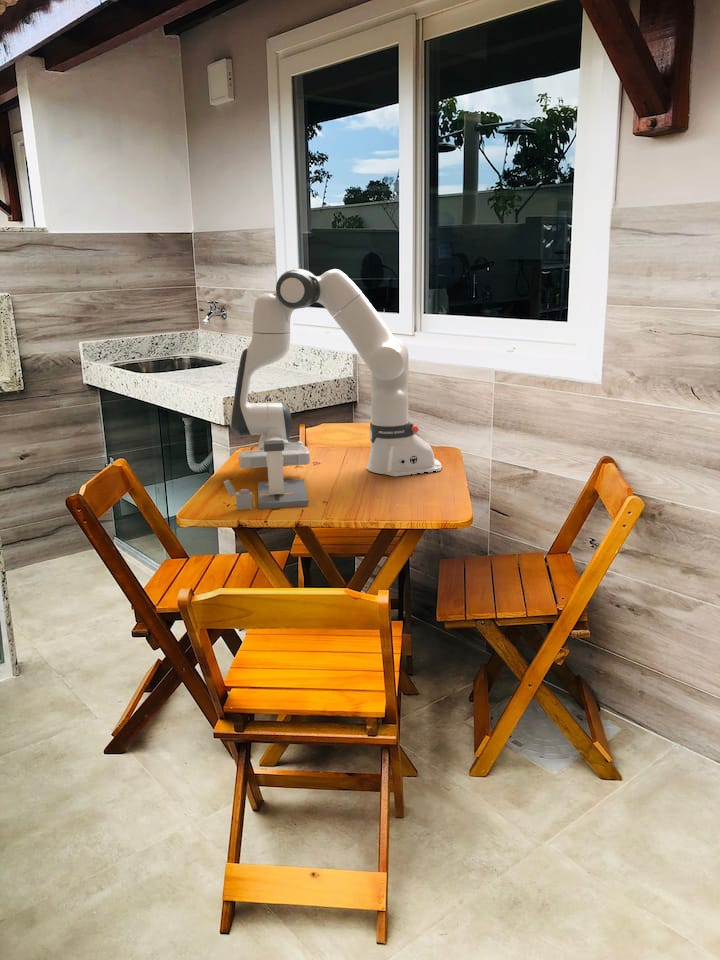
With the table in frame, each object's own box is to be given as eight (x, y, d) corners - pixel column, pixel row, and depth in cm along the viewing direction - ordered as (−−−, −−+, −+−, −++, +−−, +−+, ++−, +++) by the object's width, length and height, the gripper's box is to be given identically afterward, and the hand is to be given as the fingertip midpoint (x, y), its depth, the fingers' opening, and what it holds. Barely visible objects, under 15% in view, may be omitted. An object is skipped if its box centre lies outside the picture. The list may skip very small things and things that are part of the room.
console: (304, 484, 227) (303, 478, 226) (308, 505, 208) (308, 500, 207) (258, 487, 225) (258, 481, 225) (258, 509, 206) (258, 503, 206)
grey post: (286, 490, 215) (283, 440, 211) (286, 493, 212) (283, 443, 208) (267, 491, 215) (263, 441, 211) (267, 495, 211) (263, 444, 207)
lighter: (253, 507, 208) (251, 478, 206) (252, 509, 206) (250, 480, 204) (226, 508, 208) (223, 479, 205) (225, 510, 206) (223, 481, 204)
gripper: (237, 444, 232) (236, 456, 219) (307, 440, 234) (310, 452, 221) (239, 465, 234) (238, 478, 221) (308, 461, 236) (311, 473, 223)
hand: (275, 465), depth 221 cm, fingers closed
